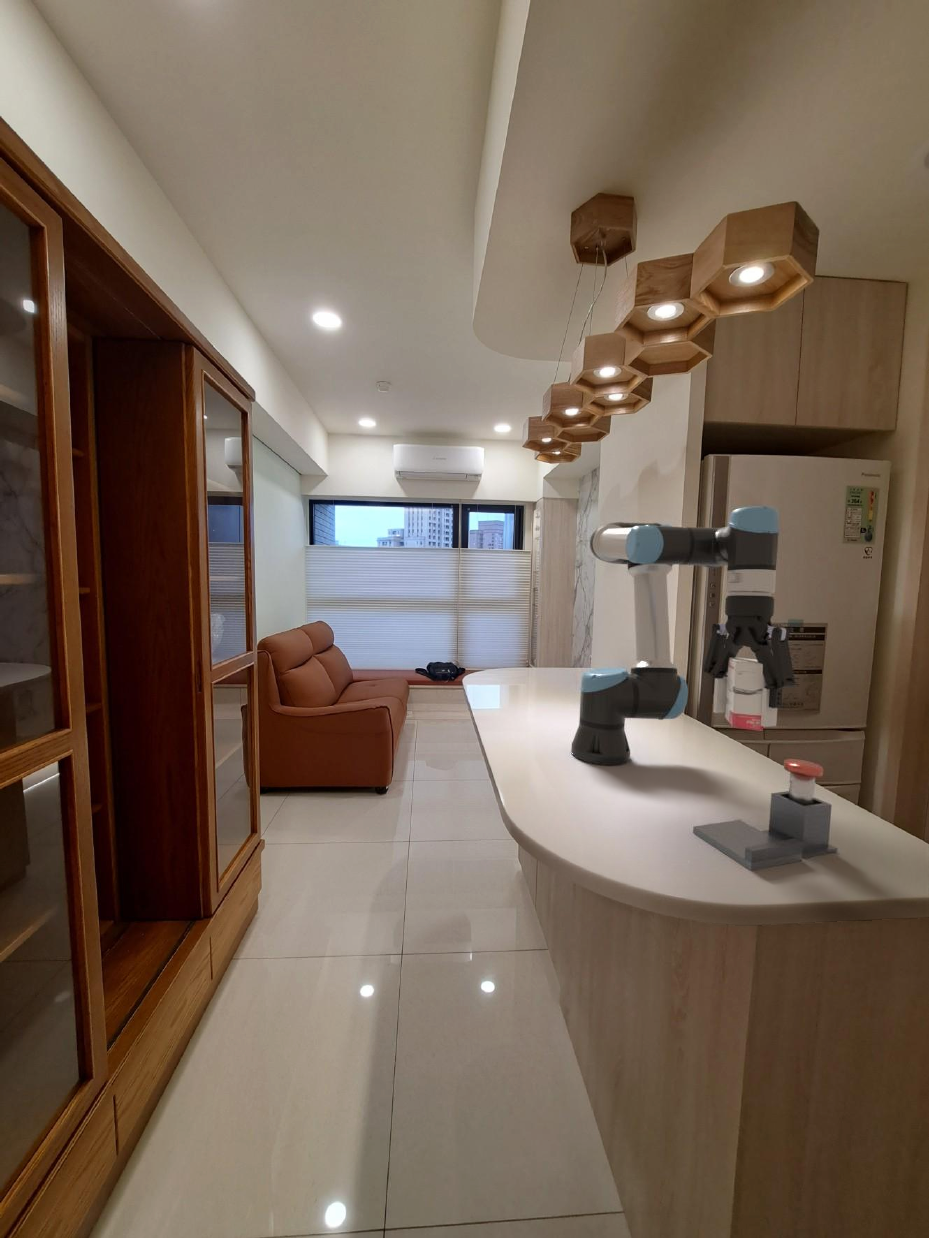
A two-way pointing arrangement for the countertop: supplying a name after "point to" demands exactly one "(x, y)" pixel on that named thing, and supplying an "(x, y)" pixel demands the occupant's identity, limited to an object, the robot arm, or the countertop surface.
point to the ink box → (744, 693)
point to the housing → (801, 823)
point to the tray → (750, 844)
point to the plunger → (802, 780)
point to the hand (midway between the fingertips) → (743, 718)
